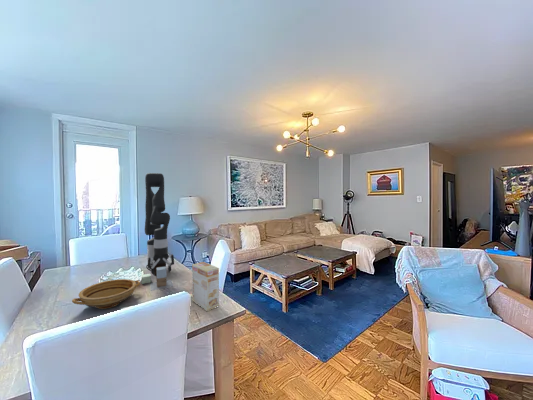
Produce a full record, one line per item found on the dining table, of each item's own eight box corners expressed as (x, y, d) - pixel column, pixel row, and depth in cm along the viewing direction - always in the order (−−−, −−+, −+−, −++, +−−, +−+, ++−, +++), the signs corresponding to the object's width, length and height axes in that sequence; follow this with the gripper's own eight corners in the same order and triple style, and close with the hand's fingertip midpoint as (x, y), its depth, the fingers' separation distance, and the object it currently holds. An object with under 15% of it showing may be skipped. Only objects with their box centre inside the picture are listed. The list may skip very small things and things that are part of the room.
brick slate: (156, 275, 140) (156, 267, 140) (165, 274, 142) (165, 266, 142) (157, 278, 135) (157, 270, 135) (166, 277, 138) (166, 268, 138)
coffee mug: (169, 273, 161) (168, 259, 160) (162, 278, 152) (162, 263, 152) (153, 273, 162) (152, 258, 161) (145, 277, 153) (145, 262, 153)
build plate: (150, 284, 141) (150, 283, 141) (171, 281, 147) (171, 279, 147) (150, 292, 131) (150, 290, 131) (173, 288, 136) (173, 286, 136)
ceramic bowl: (130, 287, 137) (129, 274, 137) (150, 299, 123) (149, 284, 122) (65, 307, 114) (64, 291, 114) (80, 324, 99) (80, 306, 99)
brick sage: (141, 282, 145) (141, 274, 145) (150, 281, 147) (150, 273, 147) (141, 285, 141) (141, 277, 140) (150, 284, 143) (150, 276, 143)
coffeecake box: (219, 306, 115) (219, 267, 114) (206, 312, 110) (206, 271, 109) (204, 296, 125) (204, 261, 125) (192, 301, 120) (191, 264, 120)
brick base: (156, 284, 140) (156, 275, 140) (165, 282, 142) (165, 274, 142) (157, 287, 136) (157, 278, 135) (166, 285, 138) (166, 277, 138)
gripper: (172, 243, 145) (173, 269, 145) (147, 246, 138) (147, 273, 139) (174, 246, 138) (174, 273, 139) (147, 249, 131) (148, 277, 132)
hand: (161, 273), depth 139 cm, fingers open, 8 cm apart
